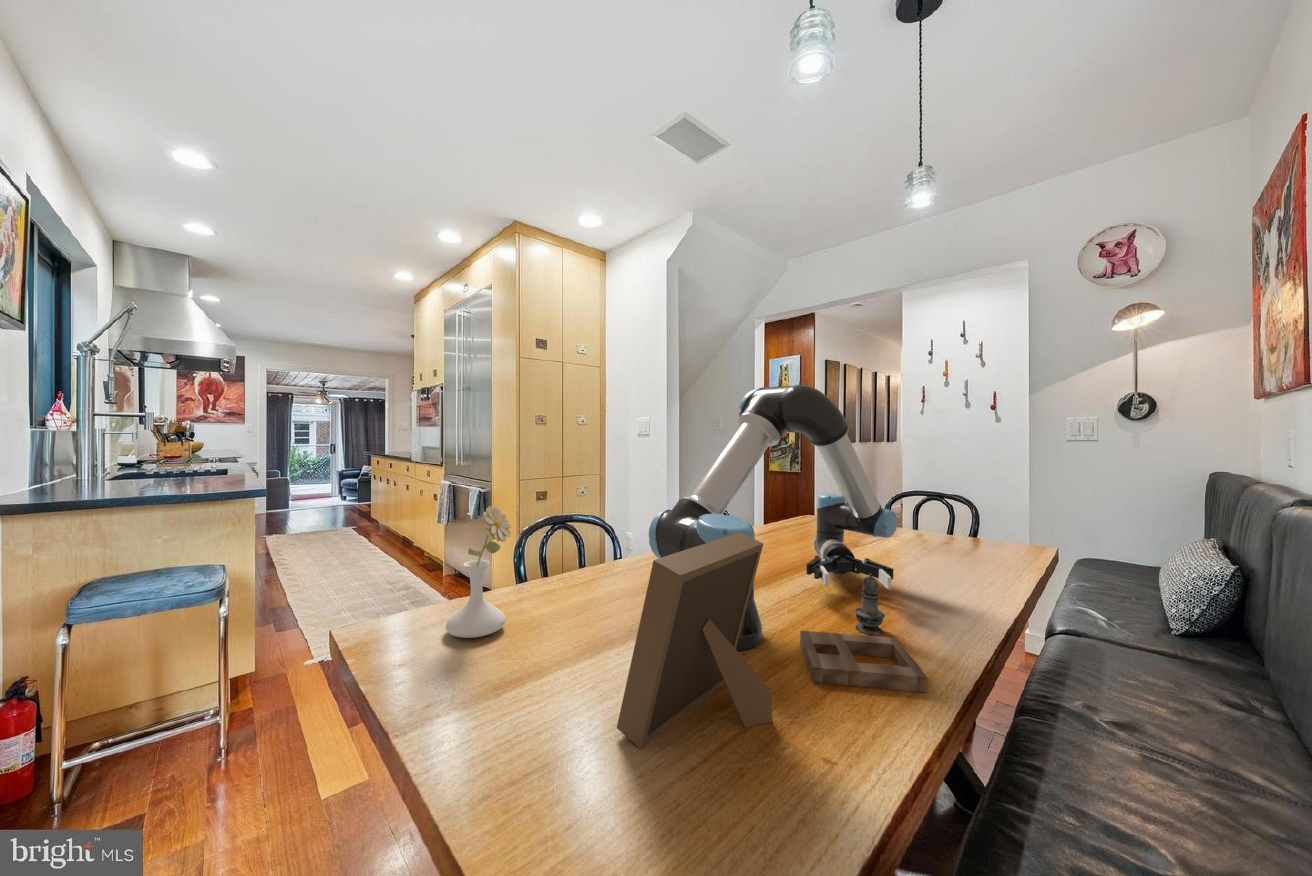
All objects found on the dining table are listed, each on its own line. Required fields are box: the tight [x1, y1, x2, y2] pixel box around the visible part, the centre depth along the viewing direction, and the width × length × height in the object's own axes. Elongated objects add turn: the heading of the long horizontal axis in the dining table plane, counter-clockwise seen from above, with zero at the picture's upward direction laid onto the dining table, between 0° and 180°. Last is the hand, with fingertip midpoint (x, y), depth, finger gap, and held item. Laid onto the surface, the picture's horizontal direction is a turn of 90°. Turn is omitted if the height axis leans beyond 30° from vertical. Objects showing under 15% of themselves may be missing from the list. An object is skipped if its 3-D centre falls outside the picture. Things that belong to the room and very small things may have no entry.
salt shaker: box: [853, 573, 886, 636], centre depth 100 cm, size 6×6×12 cm
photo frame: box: [616, 533, 774, 750], centre depth 68 cm, size 15×22×25 cm
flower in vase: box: [445, 505, 512, 639], centre depth 97 cm, size 13×11×25 cm
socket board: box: [799, 630, 928, 694], centre depth 85 cm, size 18×14×2 cm
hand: (857, 581), depth 109 cm, fingers open, 13 cm apart
